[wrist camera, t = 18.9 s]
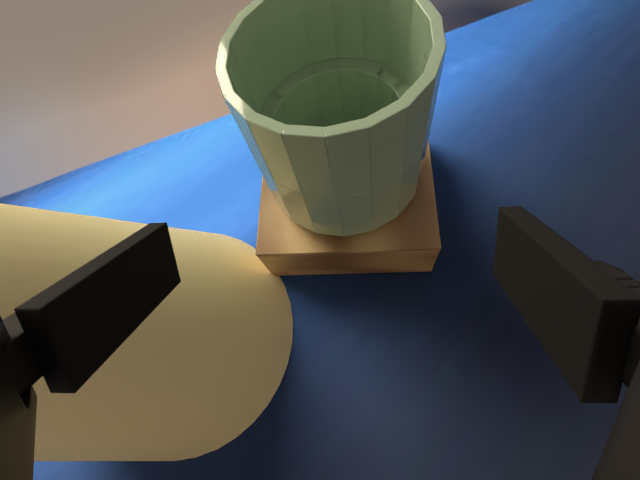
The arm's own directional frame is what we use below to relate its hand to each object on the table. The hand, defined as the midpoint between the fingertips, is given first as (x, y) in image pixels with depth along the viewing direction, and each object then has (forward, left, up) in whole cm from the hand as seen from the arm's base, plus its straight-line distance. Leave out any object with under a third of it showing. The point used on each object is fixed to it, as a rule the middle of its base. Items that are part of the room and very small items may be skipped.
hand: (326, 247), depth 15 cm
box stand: (0, -10, -16) cm, 19 cm away
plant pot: (0, -10, -11) cm, 15 cm away
